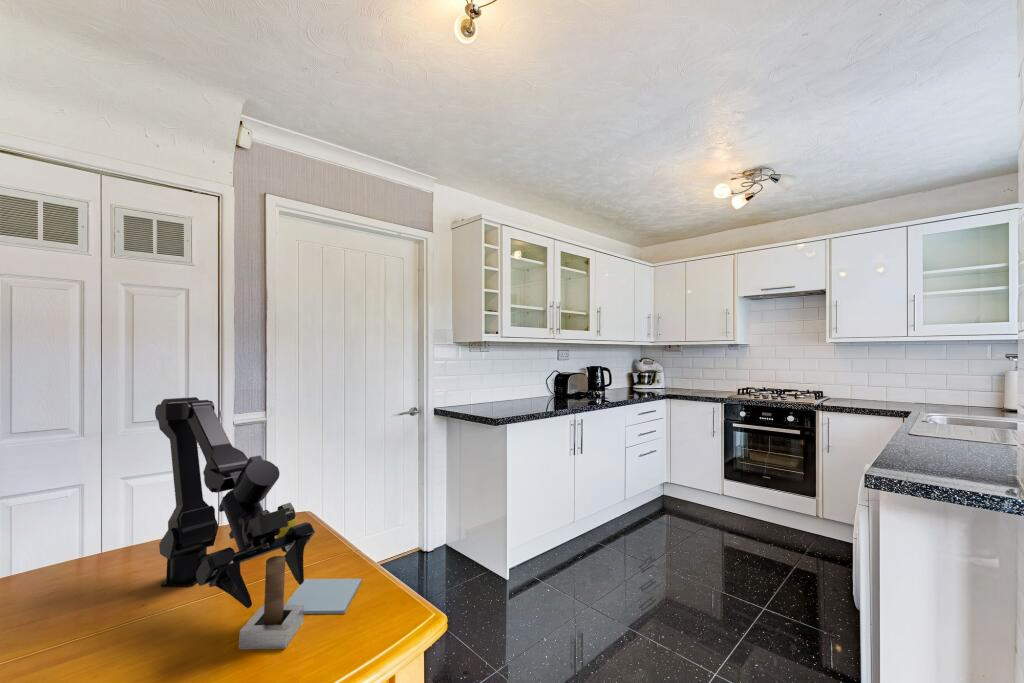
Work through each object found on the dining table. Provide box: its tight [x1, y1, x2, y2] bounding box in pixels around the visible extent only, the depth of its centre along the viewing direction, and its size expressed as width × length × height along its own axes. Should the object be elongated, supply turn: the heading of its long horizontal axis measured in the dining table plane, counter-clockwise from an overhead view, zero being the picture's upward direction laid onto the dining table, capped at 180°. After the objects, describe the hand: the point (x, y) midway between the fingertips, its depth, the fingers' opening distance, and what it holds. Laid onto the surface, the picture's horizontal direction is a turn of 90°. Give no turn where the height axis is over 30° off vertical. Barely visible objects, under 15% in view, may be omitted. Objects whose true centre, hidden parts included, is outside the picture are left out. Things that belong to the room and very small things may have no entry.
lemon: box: [275, 515, 298, 538], centre depth 117 cm, size 6×6×8 cm
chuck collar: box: [238, 604, 305, 650], centre depth 78 cm, size 8×8×3 cm
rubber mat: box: [284, 578, 363, 615], centre depth 90 cm, size 12×12×1 cm
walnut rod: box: [263, 555, 286, 625], centre depth 78 cm, size 3×3×13 cm
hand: (277, 594), depth 78 cm, fingers open, 9 cm apart
